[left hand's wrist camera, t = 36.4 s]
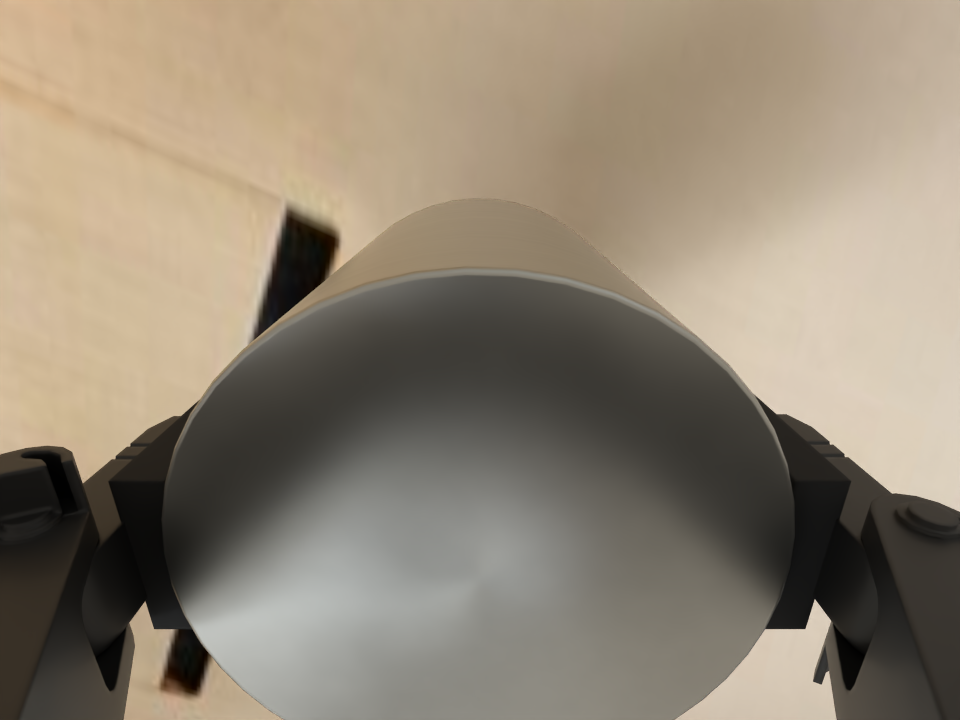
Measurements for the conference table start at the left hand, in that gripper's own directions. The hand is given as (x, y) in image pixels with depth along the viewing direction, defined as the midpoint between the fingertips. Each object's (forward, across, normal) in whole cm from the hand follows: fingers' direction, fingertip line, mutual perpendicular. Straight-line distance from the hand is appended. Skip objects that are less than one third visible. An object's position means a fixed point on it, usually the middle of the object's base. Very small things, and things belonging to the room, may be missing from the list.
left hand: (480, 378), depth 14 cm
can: (+2, 0, 0) cm, 2 cm away
